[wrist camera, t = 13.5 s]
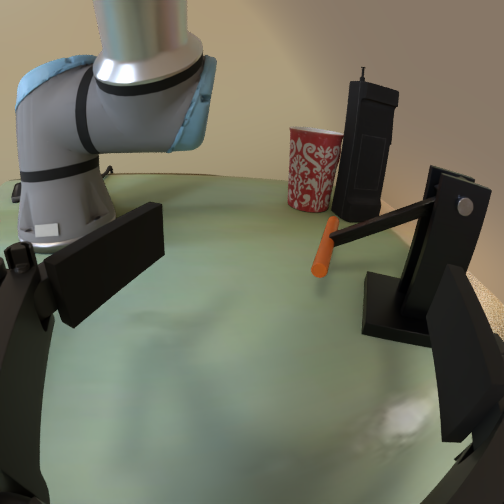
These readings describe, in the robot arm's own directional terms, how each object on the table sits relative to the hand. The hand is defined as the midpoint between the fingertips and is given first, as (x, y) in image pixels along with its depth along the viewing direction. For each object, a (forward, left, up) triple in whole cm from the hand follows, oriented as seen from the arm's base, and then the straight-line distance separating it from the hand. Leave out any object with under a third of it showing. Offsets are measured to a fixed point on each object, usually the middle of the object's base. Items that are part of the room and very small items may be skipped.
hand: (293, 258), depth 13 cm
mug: (-31, +28, -10) cm, 43 cm away
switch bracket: (-1, +17, -10) cm, 20 cm away
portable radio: (-24, +32, -10) cm, 42 cm away
